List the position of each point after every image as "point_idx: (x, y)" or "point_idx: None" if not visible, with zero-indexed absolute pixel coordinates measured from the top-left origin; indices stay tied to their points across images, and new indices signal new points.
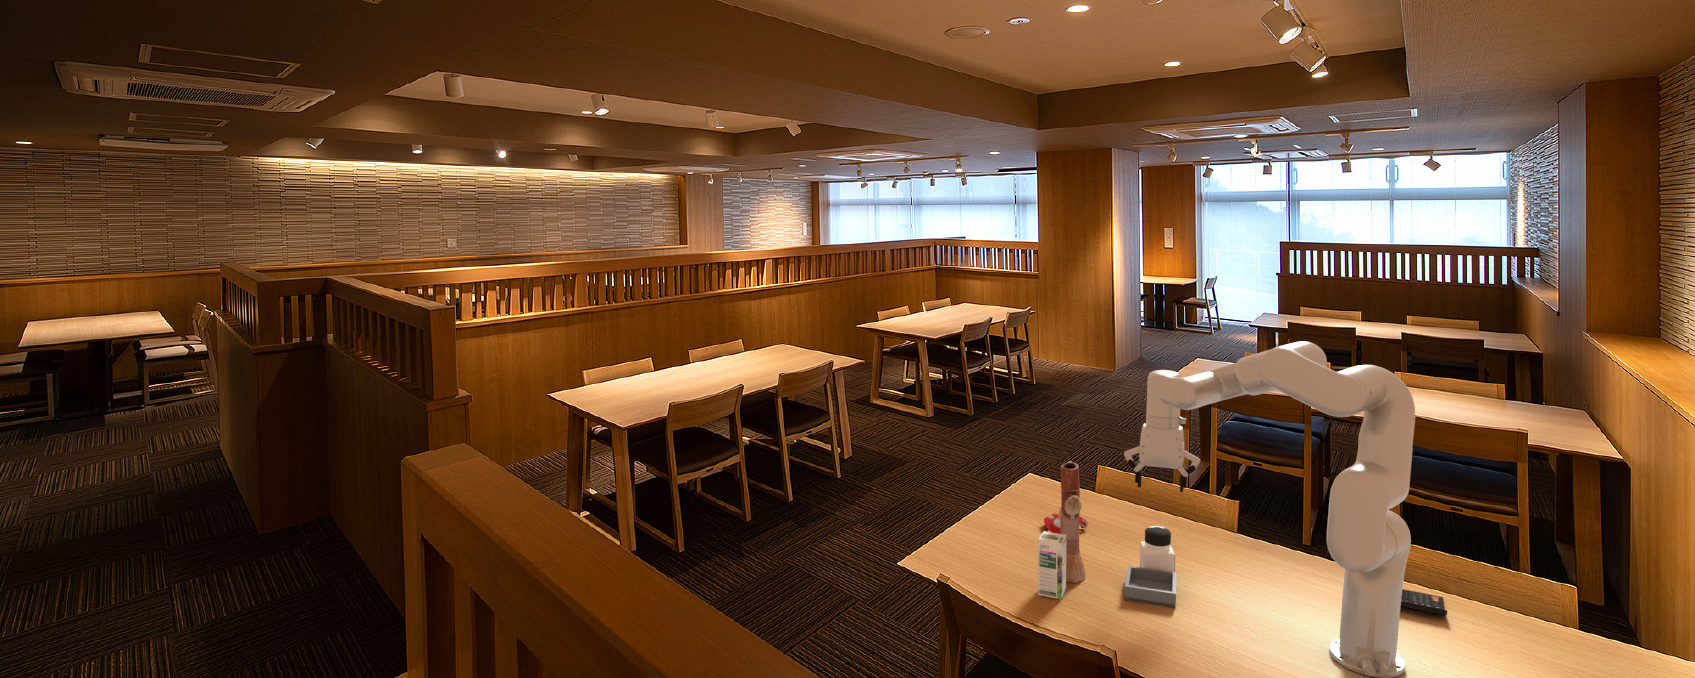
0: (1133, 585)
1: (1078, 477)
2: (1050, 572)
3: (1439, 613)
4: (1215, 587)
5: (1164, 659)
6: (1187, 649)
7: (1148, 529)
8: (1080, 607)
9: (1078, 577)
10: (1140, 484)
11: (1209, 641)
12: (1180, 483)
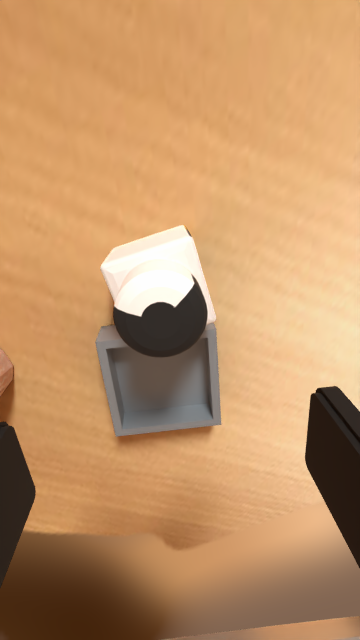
0: (124, 369)
1: None
2: None
3: None
4: (296, 284)
5: (210, 533)
6: (240, 502)
7: (127, 331)
8: (53, 467)
9: (2, 392)
10: (25, 513)
11: (272, 473)
12: (339, 525)
